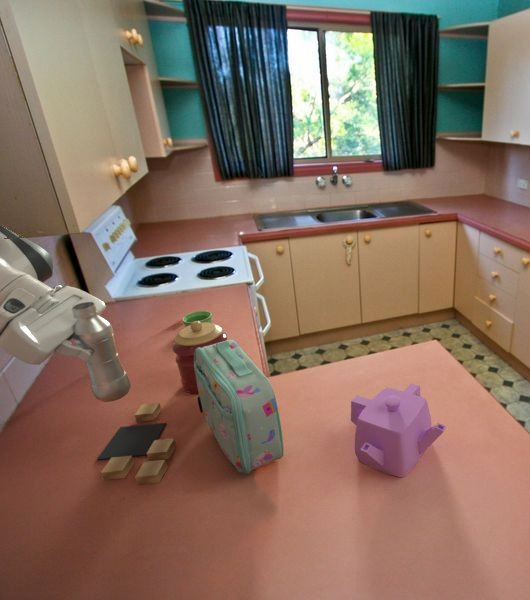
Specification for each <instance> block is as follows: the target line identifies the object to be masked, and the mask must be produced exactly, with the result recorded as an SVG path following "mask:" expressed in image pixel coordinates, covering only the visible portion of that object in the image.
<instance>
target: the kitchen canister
mask: <svg viewBox="0 0 530 600" xmlns="http://www.w3.org/2000/svg"><path fill="white" fill-rule="evenodd" d="M227 340H228V334H226V333H225V332H224V331H223V328H222V326H220V325H218V324H215V323H213V322H212V323H207V322H203V323H200V322H199V321H194V322H192V323H191V325H189V326H187V327H185V326H184V327H183V328H182V329H180V330H179V331H178V332H177V333H176V334H175V335H174V337H173V342H174V343H173V345H172V348H171V349H172V352H173V353H174V354H176V356H175V363H176V364H177V368H178V371H179V376H180V382H181V385H182V386H183V388H184V390H185V391H186V392H188V393H190V394H193V395H194V394H195V395H199V392H198V386H197V381H196V374H195V370H194V352H195V350H196V349H197V348H199V347H200V348H203V347H205V346H209V345H213V344H216V343H220V342H223V341H227Z"/></svg>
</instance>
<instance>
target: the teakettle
mask: <svg viewBox="0 0 530 600" xmlns="http://www.w3.org/2000/svg"><path fill="white" fill-rule="evenodd" d="M350 421H351V422H352V423H353V424H354V425H355V427H356V428H355V434H354V454H355V457H356V458H357V460H358V462H360V463H361V464H363V465H364V466H365V465H366V466H367V467H370V468H373V469H375V470H377V471H380V472H383V473H385V474H388V475H391V476H394V477H396V478H405V477H406V476H407V475H408V474H409V473H410V472H411V471H412V470H413V469H414V468H415V466H416V465H417V464H418V463H419V461H420V459H421V458H422V457H423V455H424V452H426V451H427V450H428V449H429V447H430V446H432V445H433V444H434V442H435V441H436V440H437V439H438V438H439V437H440V436H441V435H442V434H443V433H444V432H445V430H446V429H447V426H446V425H443V424H442V423H439V422H437V423H436V424H434V425H432V417H431V412H430V408H429V403H428V401H427V399H426V398H425V397H422V396H421V386H420V385H418V384H415V383H410V384H409V385H407V387H406V388H405V389H404V390H400V389H396V388H391V387H385V388H383V389H381V390H380V391H379V392H378V393H377V394H376V395H375V396H374V397H373V398H371V399H370V398H368V397H364V396H360V395H356V396H354V398H353V399H352V400H351V401H350Z"/></svg>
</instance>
